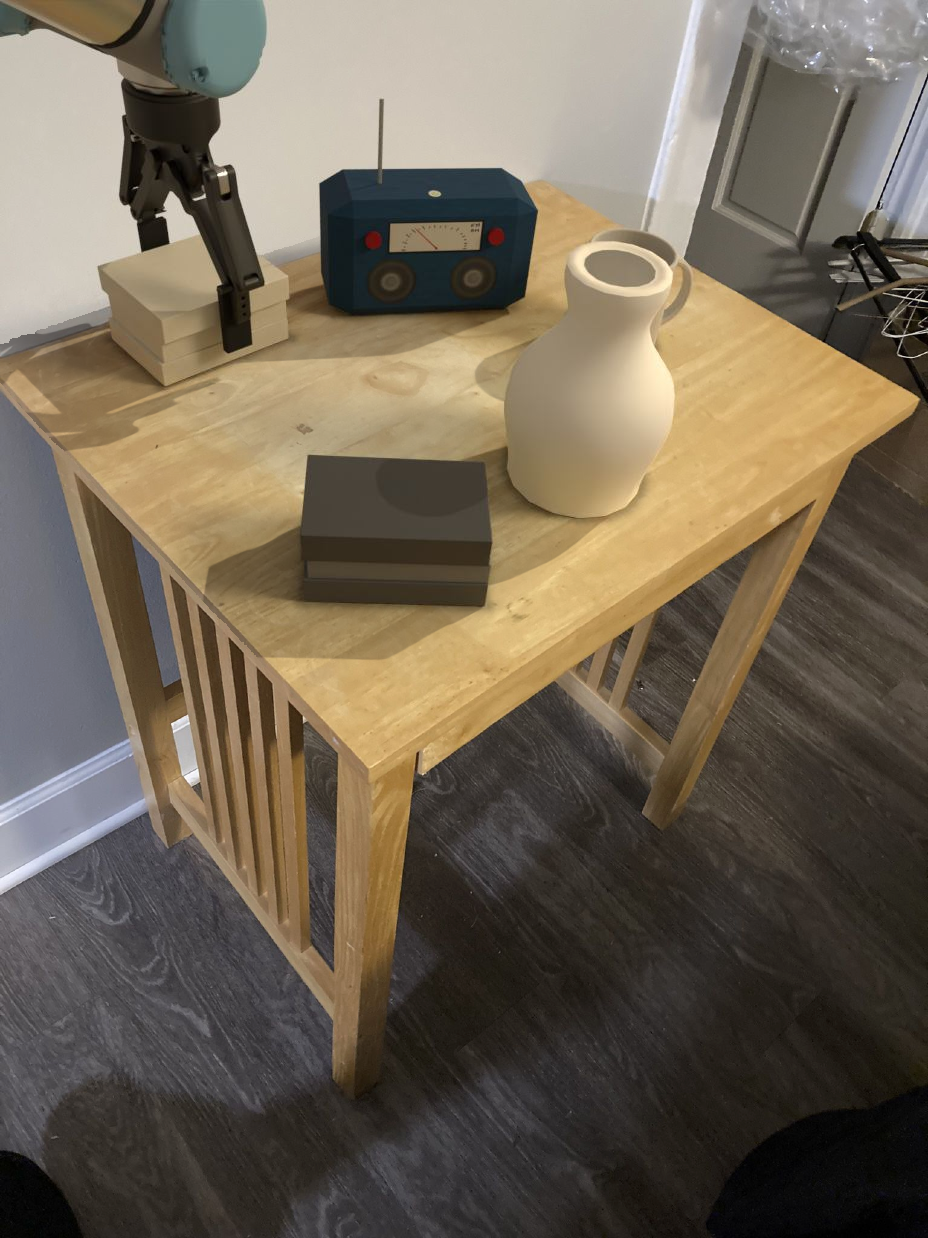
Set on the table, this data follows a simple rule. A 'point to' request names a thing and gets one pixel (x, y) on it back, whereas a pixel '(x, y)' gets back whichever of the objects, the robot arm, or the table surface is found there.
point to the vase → (593, 387)
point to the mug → (665, 253)
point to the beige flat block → (180, 288)
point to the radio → (424, 238)
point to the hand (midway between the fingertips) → (198, 315)
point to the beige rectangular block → (192, 343)
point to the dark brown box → (395, 531)
